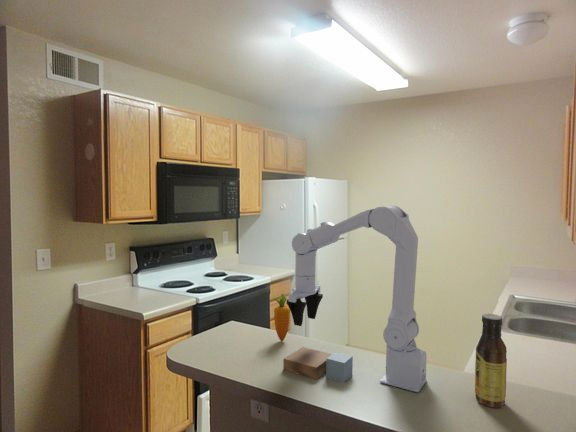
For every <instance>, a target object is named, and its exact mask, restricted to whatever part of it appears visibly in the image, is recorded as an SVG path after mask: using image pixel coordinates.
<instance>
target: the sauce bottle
mask: <svg viewBox="0 0 576 432" xmlns="http://www.w3.org/2000/svg"><path fill="white" fill-rule="evenodd" d="M481 322H482V330H481V336H480V338H479V340H478V343H477V345H476V347H475V363H474V364H475V365H474V366H475V367H474V394H475V399H476V401H477V402H478V403H479V404H482V406H483V405H484V406H486V407H489V408H494V409H495V408H496V407H498V408H501V407H503V406H504V405H505V403H506V396H507V395H506V394H507V393H506V392H507V366H508V365H507V362H508V361H507V360H508V359H507V347H506V344H505V342H504V341H503V339H502V326H503V317H502V316H500V315H498V314H494V313H484V314H482V317H481Z"/></svg>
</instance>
